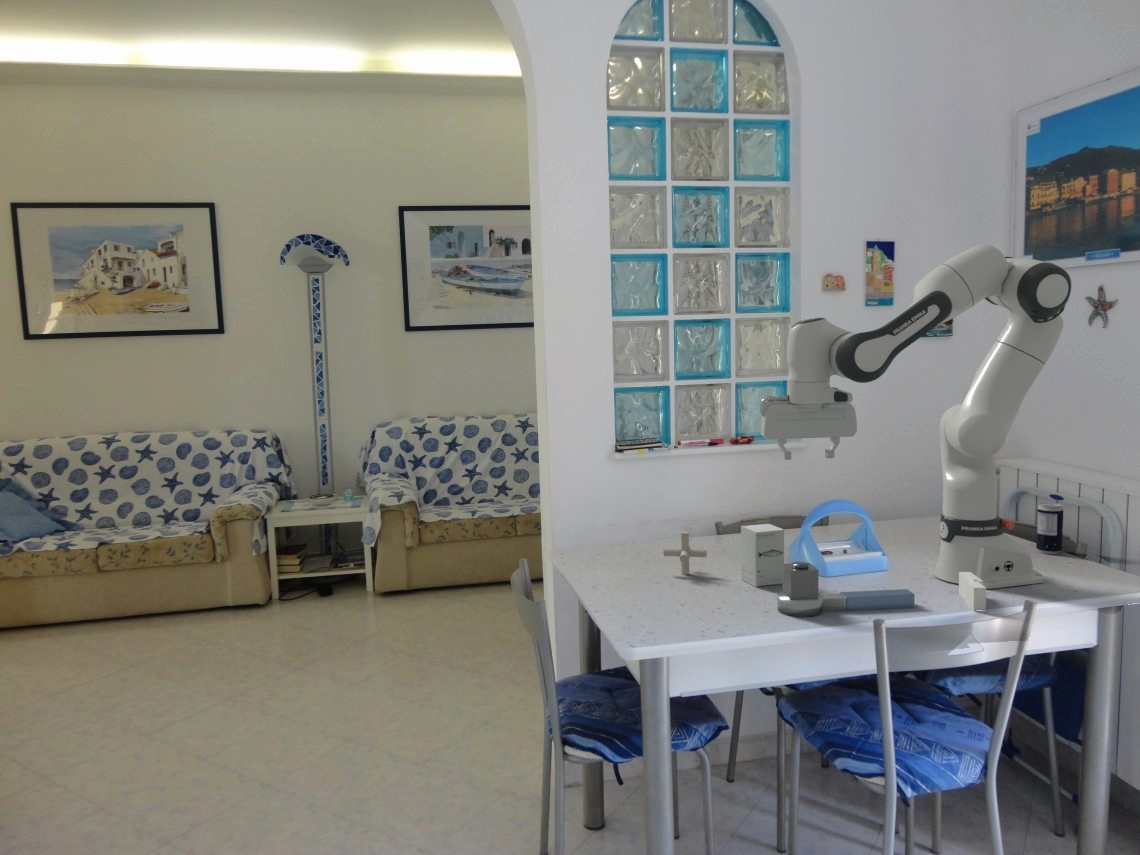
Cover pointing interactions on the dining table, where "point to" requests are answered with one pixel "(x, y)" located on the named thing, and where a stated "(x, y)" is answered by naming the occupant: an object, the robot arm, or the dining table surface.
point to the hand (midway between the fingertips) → (808, 458)
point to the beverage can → (1049, 528)
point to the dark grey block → (800, 581)
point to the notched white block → (972, 591)
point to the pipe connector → (685, 552)
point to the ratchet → (846, 602)
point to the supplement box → (762, 554)
